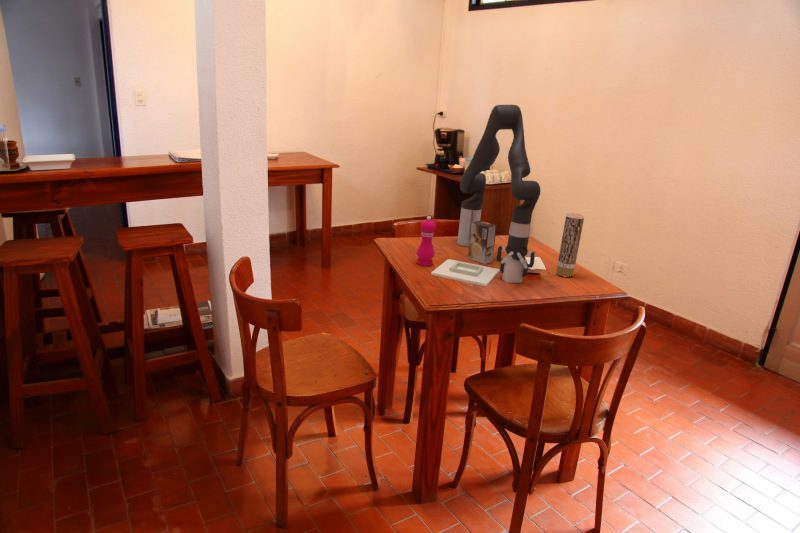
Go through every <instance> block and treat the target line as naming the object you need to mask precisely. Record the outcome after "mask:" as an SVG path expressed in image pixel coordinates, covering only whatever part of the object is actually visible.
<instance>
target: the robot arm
mask: <svg viewBox="0 0 800 533" xmlns="http://www.w3.org/2000/svg"><path fill="white" fill-rule="evenodd" d="M485 126H486V127H485V128H484V132H483V134H482V136H481V138H480V139H479V140H480V141H479V143H478V144H477V147H476V148H475V150H474V154H473V156H472V158H471V160H470V162H469V164H468V165H467V168H466V169H465V170H464V172H463V174H462V176H461V177H460V178H461V179H460V183H459V188H460V191H461V192H462V193H463V194H473V196H471V197H469V198H467V199H464V200H463V201H462V202H461V207H460V218H459V227H458V235H457V245H459V246H462V247H468V248H469V245H470V235H471V226H472V223H473V222H477V221H481V217H482V216H481V215H482V208H483V203H484V196H485V193H486V192H485V191H486V187H487V178H486V175H485V174H484V173H482V172H483V171H486V170H488V169H489V168H490V167H491V166H493V165H494V163H495V162H496V160H497V158H498V156H499V154H500V150H501V149H500V148H501V147H500V143H499V141H498V139H497V133H498V132H499V131H500V130H501V131H502V130H511V131H512V133H513V139H512V142H511V145H510V148H509V150H508V153H507V161H508V166H509V169H510V173H511V174H510V194H511V196H512V198H513V199H514V200H515V201H523V202H522V204H518V205H516V206H513V209H512V214H511V220H510V225H509V229H508V237H507V238H508V239H507V245H506V246H503V245H502V244H500V245H499V246H498V247H497V252H496V258H495V259H496V262H499V263H500V266H499V269H500V273H501V274H503V270H504V264H505V262H506V260H507V259H508V258H507V256H512V258H513V260H514V259H515V260H517V261H519V260H520V261H521V263H522V264H523V266H524V269H523V275H522V277H523V278H525V277H526V276H527V275H528V272H529V268H530V269H531V268H533V267H534V265H535V258H536V251H535V250H533V251H532V250H531V251H530V250H529V249H528V245H529V241H530V240H529V239H530V232H531V223H532V216H533V211H534V209H535V207H536V206H537V205H536V204H537V203H538V200H539V198H540V196H541V185H540V183H538V182H537V180H536V181H535V180H523V178H528V176H530V174H531V166H530V162H529V159H528V155H527V151H526V141H525V131H524V130H525V129H524V122H523V113H522V110H521V108H520V106H518V105H517V104H496V105H495V106H494V107H492V109H491V111H490V114H489V117H488V120H487V123H486V125H485ZM504 251H505V252H506V256H504V258H502V253H503V252H504ZM527 255H528V257H529V263H528V260H527V258H526V256H527Z"/></svg>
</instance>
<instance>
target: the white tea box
mask: <svg viewBox="0 0 800 533" xmlns="http://www.w3.org/2000/svg"><path fill="white" fill-rule="evenodd" d="M506 256H507V255H506ZM507 258H508V259H507V260H506V261H505V264H504V270H503V273H502V277H501V278H502V279H501V280H502V281H503V282H504V283H506V284H511V283H512V284H513V283H523V280H524V277H522V275H523V269H524V266H523V264H522V263H521V261H520V260H519V261H517V260H515V259H514V260H513V258H512V256H507Z"/></svg>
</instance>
